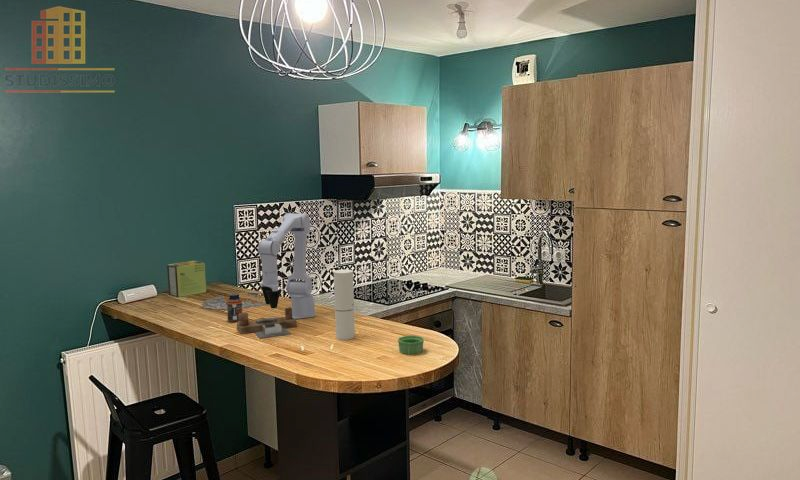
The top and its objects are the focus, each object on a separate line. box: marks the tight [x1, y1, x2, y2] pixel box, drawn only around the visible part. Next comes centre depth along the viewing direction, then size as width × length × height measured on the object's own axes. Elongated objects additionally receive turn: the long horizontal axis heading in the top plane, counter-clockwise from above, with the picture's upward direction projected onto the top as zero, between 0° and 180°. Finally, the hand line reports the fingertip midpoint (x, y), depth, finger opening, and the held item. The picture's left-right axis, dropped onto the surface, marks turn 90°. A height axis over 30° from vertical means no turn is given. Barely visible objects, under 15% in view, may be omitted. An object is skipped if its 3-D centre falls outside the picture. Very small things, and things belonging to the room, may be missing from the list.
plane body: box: [236, 306, 298, 335], centre depth 243 cm, size 22×8×7 cm, turn 116°
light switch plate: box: [261, 323, 282, 336], centre depth 235 cm, size 6×4×4 cm
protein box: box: [166, 260, 207, 298], centre depth 310 cm, size 10×15×16 cm
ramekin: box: [397, 335, 425, 355], centre depth 211 cm, size 9×9×4 cm
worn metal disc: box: [201, 292, 266, 311], centre depth 291 cm, size 33×35×1 cm
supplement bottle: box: [226, 292, 243, 323], centre depth 255 cm, size 6×6×11 cm
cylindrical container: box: [333, 269, 356, 341], centre depth 228 cm, size 7×7×25 cm
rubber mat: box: [254, 328, 292, 339], centre depth 235 cm, size 12×8×1 cm, turn 116°
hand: (271, 306), depth 237 cm, fingers open, 7 cm apart
